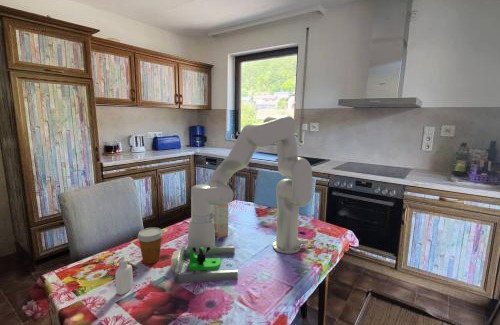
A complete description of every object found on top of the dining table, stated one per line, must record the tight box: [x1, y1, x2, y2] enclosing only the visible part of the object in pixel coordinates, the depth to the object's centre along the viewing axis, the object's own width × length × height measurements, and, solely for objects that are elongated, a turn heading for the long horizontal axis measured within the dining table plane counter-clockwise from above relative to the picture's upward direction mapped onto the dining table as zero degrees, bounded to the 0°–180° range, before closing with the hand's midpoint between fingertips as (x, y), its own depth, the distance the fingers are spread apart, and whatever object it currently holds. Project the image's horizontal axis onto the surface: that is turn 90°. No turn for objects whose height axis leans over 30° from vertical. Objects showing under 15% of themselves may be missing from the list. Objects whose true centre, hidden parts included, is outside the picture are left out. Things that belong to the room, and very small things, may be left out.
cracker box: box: [211, 203, 229, 239], centre depth 133 cm, size 14×6×21 cm, turn 27°
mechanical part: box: [187, 247, 222, 272], centre depth 102 cm, size 12×6×8 cm, turn 96°
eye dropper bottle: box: [114, 255, 134, 296], centre depth 87 cm, size 4×6×12 cm
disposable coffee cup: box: [137, 227, 164, 265], centre depth 106 cm, size 10×10×12 cm
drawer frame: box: [170, 245, 239, 284], centre depth 102 cm, size 24×20×5 cm
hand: (201, 262), depth 102 cm, fingers closed
